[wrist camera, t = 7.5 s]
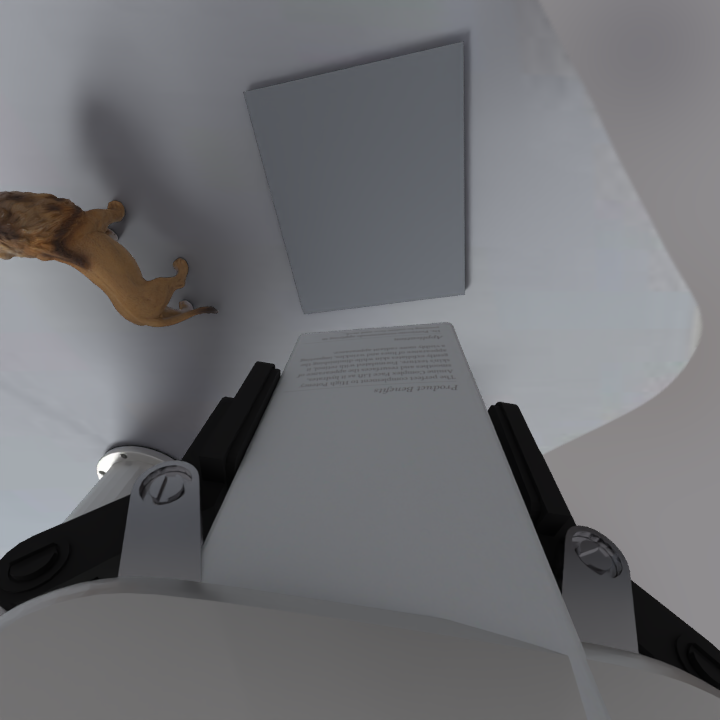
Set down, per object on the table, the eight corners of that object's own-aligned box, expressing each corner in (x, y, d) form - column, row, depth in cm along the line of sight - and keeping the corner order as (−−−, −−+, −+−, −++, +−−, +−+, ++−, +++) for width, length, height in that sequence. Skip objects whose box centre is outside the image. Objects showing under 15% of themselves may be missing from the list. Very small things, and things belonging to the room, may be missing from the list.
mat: (463, 291, 29) (464, 294, 29) (305, 311, 31) (303, 314, 31) (461, 43, 21) (463, 41, 20) (246, 93, 23) (243, 91, 23)
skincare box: (319, 411, 16) (190, 900, 6) (297, 323, 13) (8, 890, 3) (457, 404, 15) (597, 962, 5) (459, 309, 13) (742, 1006, 2)
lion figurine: (52, 216, 29) (-71, 242, 21) (71, 160, 26) (-59, 169, 19) (208, 327, 33) (153, 382, 26) (236, 288, 31) (185, 336, 23)
